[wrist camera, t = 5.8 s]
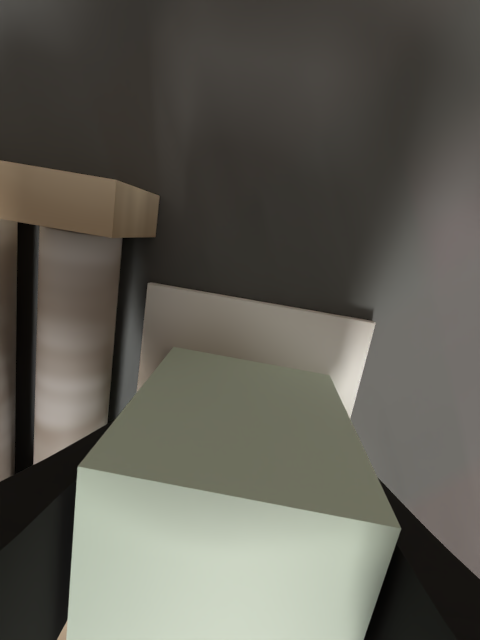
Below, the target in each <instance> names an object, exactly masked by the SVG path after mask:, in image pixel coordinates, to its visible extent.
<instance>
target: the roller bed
mask: <svg viewBox="0 0 480 640" xmlns="http://www.w3.org/2000/svg"><path fill="white" fill-rule="evenodd" d="M159 198H160V196H159V195H156V194H153V193H151V192H148V191H145V190H142V189H140V188H137V187H134V186H132V185H129V184H126V183H123V182H121V181H118V180H114V179H108V178H102V177H96V176H90V175H84V174H78V173H73V172H67V171H61V170H55V169H49V168H43V167H37V166H31V165H25V164H19V163H13V162H7V161H1V160H0V481H2V480H4V479H6V478H8V477H10V476H12V475H14V474H15V402H16V312H17V222H21V223H27V224H33V225H39V226H40V230H39V268H38V307H37V346H36V384H35V423H34V461H33V465H34V464H36V463H38V462H40V461H42V460H44V459H46V458H48V457H50V456H52V455H53V454H55V453H57V452H59V451H60V450H62V449H64V448H66V447H68V446H69V445H71V444H73V443H75V442H77V441H78V440H80V439H82V438H84V437H85V436H87V435H89V434H90V433H92V432H94V431H96V430H97V429H99V428H101V427H103V426H104V425H106V424H107V422H108V410H109V397H110V385H111V373H112V361H113V348H114V336H115V324H116V312H117V299H118V287H119V275H120V263H121V250H122V238H135V237H156V227H157V218H158V208H159ZM375 324H376V323H375V322H373V321H370V320H364V319H359V318H353V317H347V316H342V315H336V314H330V313H324V312H319V311H313V310H307V309H301V308H296V307H290V306H284V305H278V304H273V303H267V302H261V301H256V300H250V299H244V298H238V297H233V296H227V295H221V294H215V293H210V292H204V291H198V290H192V289H187V288H181V287H175V286H170V285H164V284H158V283H152V282H150V283H148V286H147V296H146V306H145V316H144V326H143V335H142V345H141V355H140V365H139V375H138V384H137V392H138V391H139V389H140V388H141V387H142V386H143V384H144V383H145V382H146V381H147V379H148V378H149V377H150V376H151V374H152V373H153V372H154V371H155V369H156V368H157V367H158V366H159V364H160V363H161V362H162V361H163V359H164V358H165V357H166V356H167V354H168V353H169V352H170V351H171V349H172V348H173V347H178V348H183V349H189V350H194V351H200V352H205V353H211V354H216V355H222V356H227V357H233V358H238V359H244V360H249V361H255V362H260V363H266V364H271V365H277V366H282V367H287V368H293V369H298V370H304V371H309V372H315V373H320V374H326V375H330V377H331V379H332V381H333V383H334V386H335V388H336V390H337V392H338V394H339V396H340V398H341V401H342V403H343V405H344V407H345V409H346V411H347V413H348V416H349V418H351V414H352V410H353V406H354V403H355V399H356V395H357V391H358V388H359V384H360V380H361V376H362V373H363V369H364V365H365V361H366V358H367V354H368V350H369V346H370V343H371V339H372V335H373V331H374V328H375ZM67 621H68V620H67ZM66 636H67V622H66V624H65V626H64V627H63V629H62V631H61V633H60V635H59V637H58V639H57V640H66Z"/></svg>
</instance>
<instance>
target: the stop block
mask: <svg viewBox="0 0 480 640" xmlns="http://www.w3.org/2000/svg"><path fill="white" fill-rule="evenodd" d="M400 531H401V527H400V525H399V523H398V520H397V518H396V516H395V514H394V512H393V510H392V508H391V505H390V503H389V501H388V499H387V497H386V495H385V493H384V490H383V488H382V486H381V484H380V482H379V480H378V478H377V476H376V473H375V471H374V469H373V467H372V465H371V463H370V461H369V458H368V456H367V454H366V452H365V450H364V448H363V446H362V443H361V441H360V439H359V437H358V435H357V433H356V431H355V428H354V426H353V424H352V422H351V420H350V418H349V416H348V413H347V411H346V409H345V407H344V405H343V403H342V401H341V398H340V396H339V394H338V392H337V390H336V388H335V386H334V383H333V381H332V379H331V377H330V375H326V374H320V373H315V372H309V371H304V370H298V369H293V368H287V367H282V366H277V365H271V364H266V363H260V362H255V361H249V360H244V359H238V358H233V357H227V356H222V355H216V354H211V353H205V352H200V351H194V350H189V349H183V348H178V347H173V348H172V349H171V351H170V352H169V353H168V354H167V356H166V357H165V358H164V359H163V361H162V362H161V363H160V364H159V366H158V367H157V368H156V369H155V371H154V372H153V373H152V374H151V376H150V377H149V378H148V379H147V381H146V382H145V383H144V384H143V386H142V387H141V388H140V389H139V391H138V392H137V393H136V394H135V396H134V397H133V398H132V399H131V401H130V402H129V403H128V404H127V406H126V407H125V408H124V409H123V411H122V412H121V413H120V414H119V416H118V417H117V418H116V419H115V421H114V422H113V423H112V424H111V425H110V427H109V428H108V429H107V430H106V432H105V433H104V434H103V435H102V437H101V438H100V439H99V440H98V442H97V443H96V444H95V445H94V447H93V448H92V449H91V450H90V452H89V453H88V454H87V455H86V457H85V458H84V459H83V460H82V462H81V463H80V464H79V465H78V468H77V484H76V499H75V514H74V529H73V545H72V560H71V575H70V591H69V606H68V621H67V636H66V640H364V637H365V634H366V631H367V628H368V625H369V622H370V619H371V616H372V613H373V611H374V608H375V605H376V602H377V599H378V596H379V593H380V590H381V587H382V584H383V581H384V578H385V575H386V572H387V569H388V566H389V563H390V560H391V557H392V554H393V551H394V549H395V546H396V543H397V540H398V537H399V534H400Z"/></svg>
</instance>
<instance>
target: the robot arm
mask: <svg viewBox="0 0 480 640" xmlns="http://www.w3.org/2000/svg"><path fill="white" fill-rule="evenodd" d="M114 421H115V420H113V421H112V422H110V423H108V424H106V425H104V426H103V427H101V428H99V429H97V430H96V431H94V432H92V433H90V434H89V435H87V436H85V437H84V438H82V439H80V440H78V441H77V442H75V443H73V444H71V445H69V446H68V447H66V448H64V449H62V450H60V451H59V452H57V453H55V454H53V455H52V456H50V457H48V458H46V459H44V460H42V461H40V462H38V463H36V464H34V465H32V466H30V467H28V468H26V469H24V470H22V471H20V472H18V473H16V474H14V475H12V476H10V477H8V478H6V479H4V480H2V481H0V640H57V639H58V637H59V635H60V633H61V631H62V629H63V627H64V626H65V624H66V622H67V620H68V606H69V591H70V575H71V560H72V545H73V529H74V514H75V499H76V484H77V468H78V465H79V464H80V463H81V462H82V460H83V459H84V458H85V457H86V455H87V454H88V453H89V452H90V450H91V449H92V448H93V447H94V445H95V444H96V443H97V442H98V440H99V439H100V438H101V437H102V435H103V434H104V433H105V432H106V430H107V429H108V428H109V427H110V425H111V424H112V423H113V422H114ZM377 478H378V477H377ZM378 480H379V482H380V484H381V486H382V488H383V490H384V493H385V495H386V497H387V499H388V501H389V503H390V505H391V508H392V510H393V512H394V514H395V516H396V518H397V520H398V523H399V525H400V527H401V531H400V534H399V537H398V540H397V543H396V546H395V549H394V551H393V554H392V557H391V560H390V563H389V566H388V569H387V572H386V575H385V578H384V581H383V584H382V587H381V590H380V593H379V596H378V599H377V602H376V605H375V608H374V611H373V613H372V616H371V619H370V622H369V625H368V628H367V631H366V634H365V637H364V640H480V579H479V578H478V577H477V576H476V575H474V574H473V573H472V572H471V571H470V570H469V569H468V568H467V567H466V566H465V565H464V564H463V563H462V562H461V561H460V560H458V559H457V558H456V557H455V556H454V555H453V554H452V553H451V552H450V551H449V550H448V549H447V548H446V547H445V546H444V545H443V544H442V543H441V542H440V541H439V540H438V539H437V538H436V537H435V536H434V535H433V534H432V533H431V532H430V531H429V530H428V529H427V528H426V527H425V526H424V525H423V524H422V523H421V522H420V521H419V520H418V519H417V518H416V517H415V516H414V515H413V514H412V513H411V512H410V511H409V510H408V509H407V508H406V507H405V506H404V505H403V504H402V503H401V502H400V500H399V499H398V498H397V497H396V496H395V495H394V494H393V493H392V492H391V491H390V490H389V489H388V488H387V487H386V486H385V485H384V484H383V483H382V482H381V480H380V479H379V478H378Z"/></svg>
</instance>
